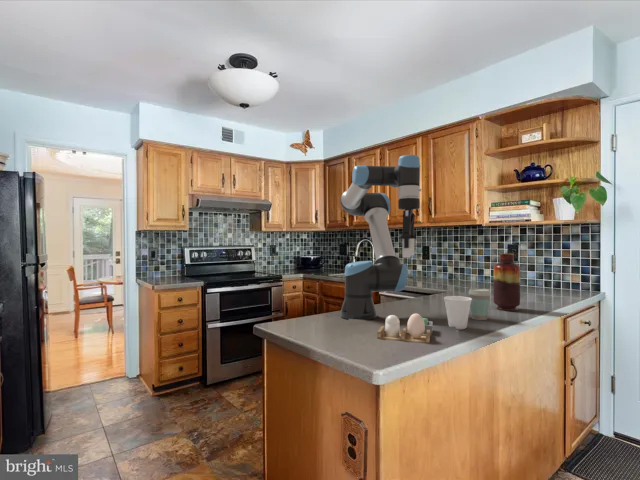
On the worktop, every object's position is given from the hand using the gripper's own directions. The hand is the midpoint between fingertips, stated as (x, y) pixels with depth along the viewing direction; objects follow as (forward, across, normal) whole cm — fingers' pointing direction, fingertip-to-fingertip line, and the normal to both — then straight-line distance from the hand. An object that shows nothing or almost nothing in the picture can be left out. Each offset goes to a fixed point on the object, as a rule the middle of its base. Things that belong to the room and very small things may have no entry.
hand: (408, 256), depth 130 cm
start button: (+26, -6, -5) cm, 27 cm away
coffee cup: (+27, +27, -26) cm, 46 cm away
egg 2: (+26, -15, -4) cm, 30 cm away
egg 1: (+25, -16, +4) cm, 30 cm away
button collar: (+26, -6, -5) cm, 28 cm away
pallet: (+26, -16, 0) cm, 31 cm away
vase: (+27, +53, -40) cm, 72 cm away
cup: (+27, +8, -17) cm, 33 cm away
